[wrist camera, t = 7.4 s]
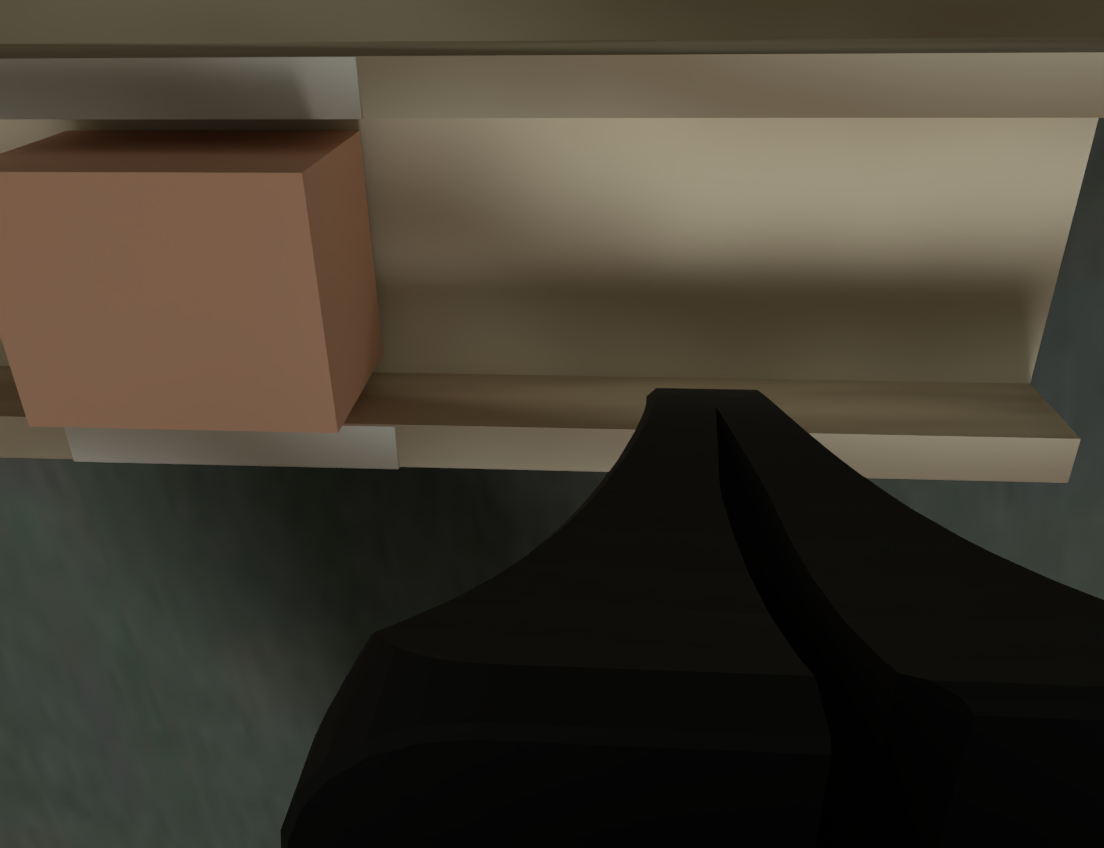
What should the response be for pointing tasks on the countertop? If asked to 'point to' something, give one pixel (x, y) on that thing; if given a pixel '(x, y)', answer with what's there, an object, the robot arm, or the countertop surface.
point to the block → (188, 279)
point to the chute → (634, 211)
